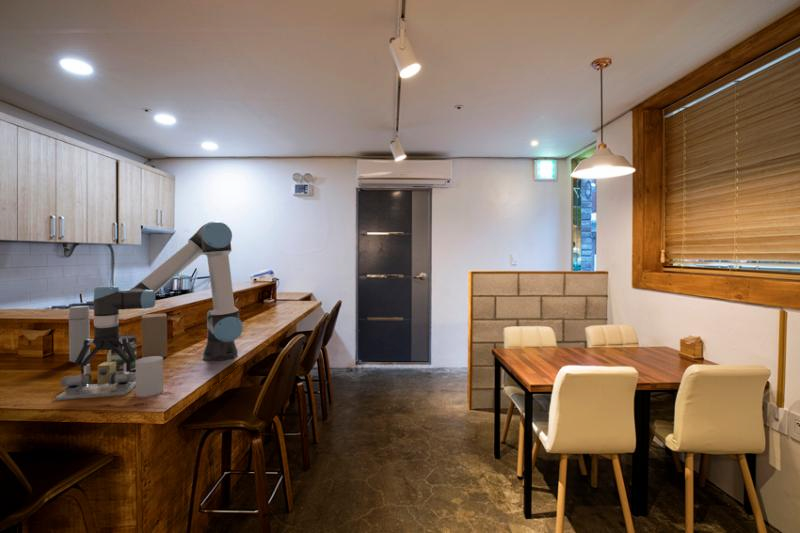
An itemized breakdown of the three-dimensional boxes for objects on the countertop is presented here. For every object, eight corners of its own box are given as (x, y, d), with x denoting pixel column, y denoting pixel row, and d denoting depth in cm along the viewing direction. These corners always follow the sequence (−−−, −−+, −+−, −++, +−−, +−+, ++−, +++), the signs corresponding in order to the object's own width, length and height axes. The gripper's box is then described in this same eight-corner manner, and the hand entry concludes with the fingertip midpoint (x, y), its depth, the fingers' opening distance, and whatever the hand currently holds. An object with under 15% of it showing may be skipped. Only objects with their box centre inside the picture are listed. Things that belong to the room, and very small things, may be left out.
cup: (166, 392, 131) (166, 359, 130) (139, 398, 125) (138, 364, 124) (159, 386, 136) (159, 354, 136) (133, 392, 130) (132, 359, 130)
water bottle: (92, 360, 167) (91, 306, 167) (69, 364, 162) (68, 308, 161) (89, 356, 174) (88, 304, 173) (67, 360, 168) (66, 306, 167)
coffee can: (143, 367, 159) (142, 335, 159) (120, 374, 149) (120, 340, 149) (123, 365, 161) (123, 333, 161) (100, 372, 151) (99, 339, 151)
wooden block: (166, 352, 184) (165, 313, 183) (167, 356, 176) (167, 315, 175) (141, 355, 178) (141, 314, 177) (141, 360, 170) (141, 317, 169)
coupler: (104, 379, 143) (104, 361, 143) (116, 378, 144) (116, 361, 144) (97, 384, 138) (97, 365, 138) (109, 383, 139) (109, 365, 139)
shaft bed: (139, 384, 138) (139, 366, 138) (126, 394, 128) (126, 375, 128) (73, 388, 133) (73, 370, 133) (54, 400, 122) (53, 380, 122)
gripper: (146, 323, 147) (146, 375, 148) (74, 325, 141) (74, 379, 141) (138, 326, 140) (139, 381, 141) (62, 328, 134) (62, 386, 134)
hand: (106, 380), depth 141 cm, fingers open, 12 cm apart
